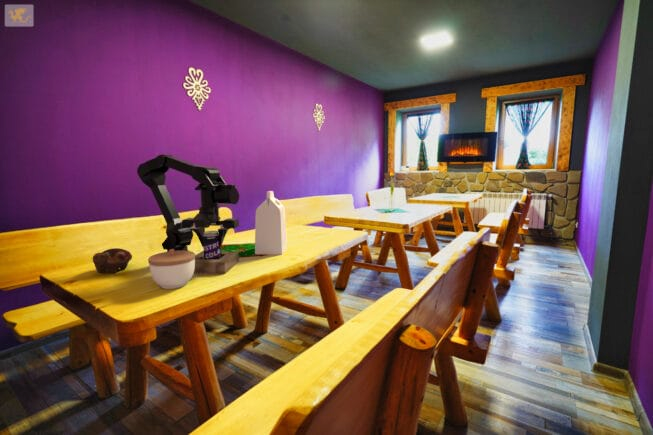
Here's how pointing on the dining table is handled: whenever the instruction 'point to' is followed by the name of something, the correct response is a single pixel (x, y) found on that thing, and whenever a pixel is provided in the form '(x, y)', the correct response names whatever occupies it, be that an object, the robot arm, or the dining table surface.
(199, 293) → the dining table surface
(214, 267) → the socket
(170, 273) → the lidded bowl
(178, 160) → the robot arm
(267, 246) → the milk
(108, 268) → the dark brown rounded lump
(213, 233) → the beverage can
